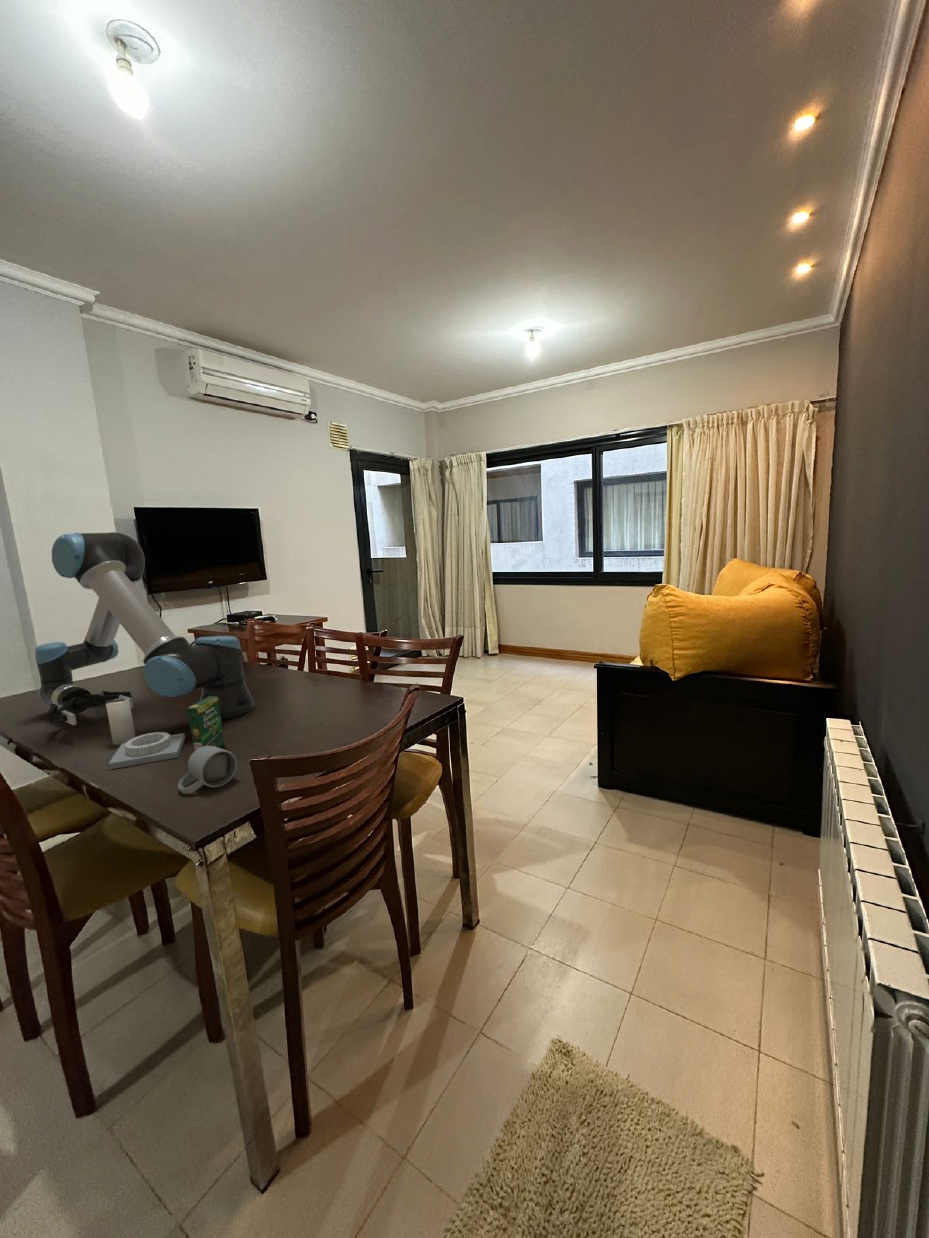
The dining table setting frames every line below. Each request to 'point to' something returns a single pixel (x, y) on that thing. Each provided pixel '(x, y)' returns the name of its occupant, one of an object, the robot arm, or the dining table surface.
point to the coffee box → (206, 723)
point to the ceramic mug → (209, 768)
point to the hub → (147, 749)
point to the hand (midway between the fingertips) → (103, 711)
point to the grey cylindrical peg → (120, 720)
